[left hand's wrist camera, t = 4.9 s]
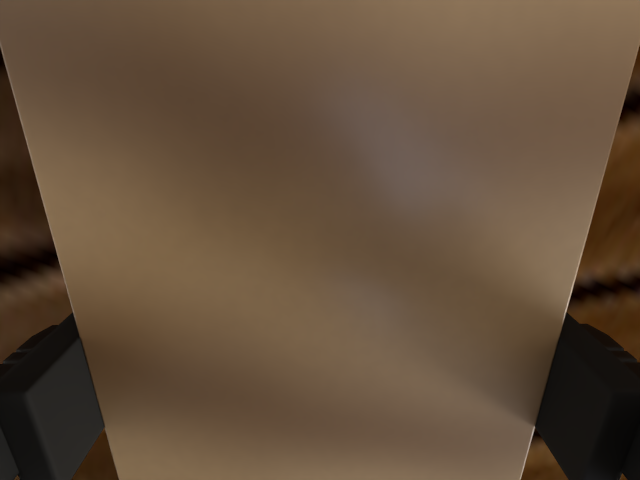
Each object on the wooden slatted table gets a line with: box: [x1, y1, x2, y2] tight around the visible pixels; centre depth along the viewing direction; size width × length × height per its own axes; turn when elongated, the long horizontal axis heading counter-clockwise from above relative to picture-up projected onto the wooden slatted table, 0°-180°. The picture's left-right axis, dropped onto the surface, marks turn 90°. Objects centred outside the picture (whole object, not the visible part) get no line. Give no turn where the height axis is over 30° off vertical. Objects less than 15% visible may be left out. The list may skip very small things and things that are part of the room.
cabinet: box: [0, 0, 640, 480], centre depth 11 cm, size 20×11×9 cm, turn 0°
